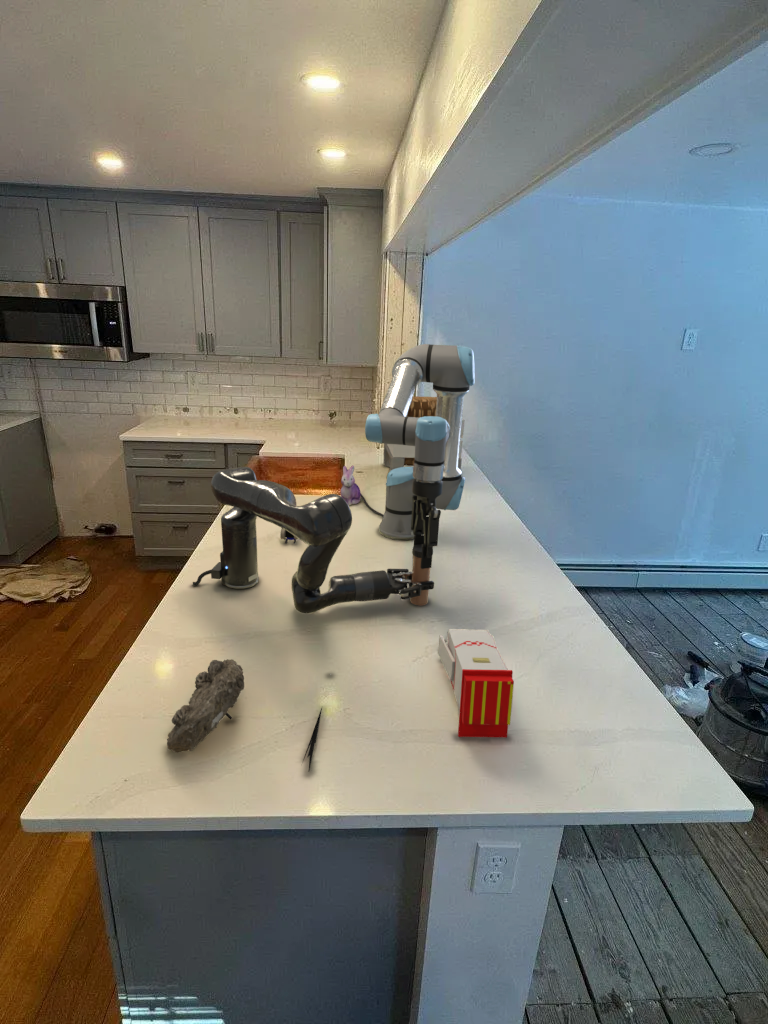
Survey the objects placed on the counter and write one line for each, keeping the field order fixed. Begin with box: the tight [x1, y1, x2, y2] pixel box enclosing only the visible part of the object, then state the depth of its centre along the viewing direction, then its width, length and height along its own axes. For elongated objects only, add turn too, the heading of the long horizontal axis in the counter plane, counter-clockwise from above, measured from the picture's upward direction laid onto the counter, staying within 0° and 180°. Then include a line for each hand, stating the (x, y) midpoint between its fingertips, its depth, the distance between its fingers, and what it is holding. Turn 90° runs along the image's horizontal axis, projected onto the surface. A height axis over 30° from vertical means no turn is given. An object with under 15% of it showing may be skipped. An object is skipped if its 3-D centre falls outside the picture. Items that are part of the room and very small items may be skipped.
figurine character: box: [279, 528, 299, 545], centre depth 191 cm, size 7×8×15 cm
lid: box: [411, 544, 434, 558], centre depth 149 cm, size 5×5×2 cm
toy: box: [437, 628, 515, 738], centre depth 117 cm, size 12×13×30 cm
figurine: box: [340, 464, 362, 506], centre depth 227 cm, size 9×10×15 cm
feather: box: [301, 673, 332, 771], centre depth 108 cm, size 2×28×2 cm
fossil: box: [166, 658, 245, 754], centre depth 106 cm, size 22×10×15 cm
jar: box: [409, 554, 432, 607], centre depth 152 cm, size 5×5×15 cm
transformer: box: [383, 395, 465, 472], centre depth 268 cm, size 34×33×41 cm
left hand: (429, 580), depth 153 cm, fingers closed on jar, 5 cm apart
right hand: (421, 562), depth 151 cm, fingers closed on lid, 5 cm apart
